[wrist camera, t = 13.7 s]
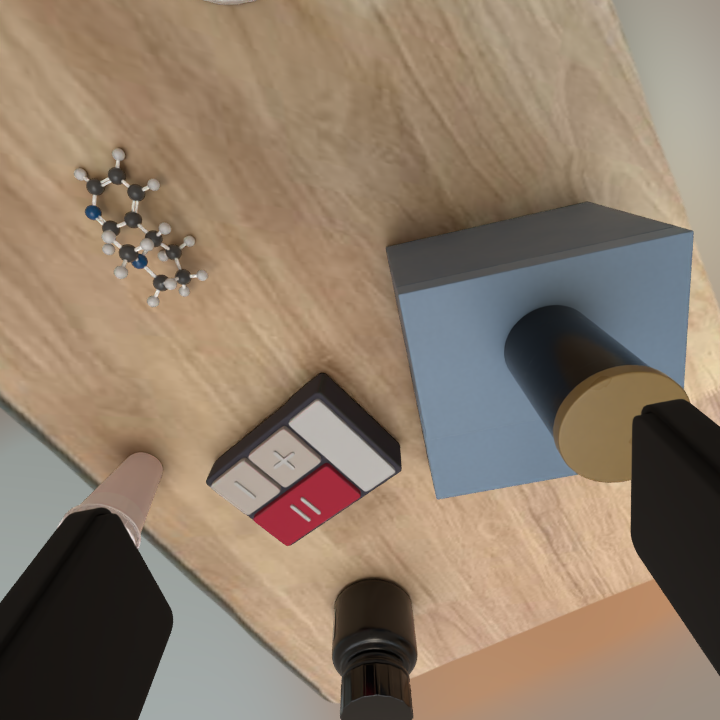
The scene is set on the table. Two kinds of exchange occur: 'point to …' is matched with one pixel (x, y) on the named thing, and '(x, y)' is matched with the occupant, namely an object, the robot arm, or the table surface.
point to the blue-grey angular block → (507, 306)
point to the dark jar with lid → (584, 388)
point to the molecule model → (134, 221)
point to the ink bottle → (374, 651)
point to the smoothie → (127, 492)
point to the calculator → (306, 462)
